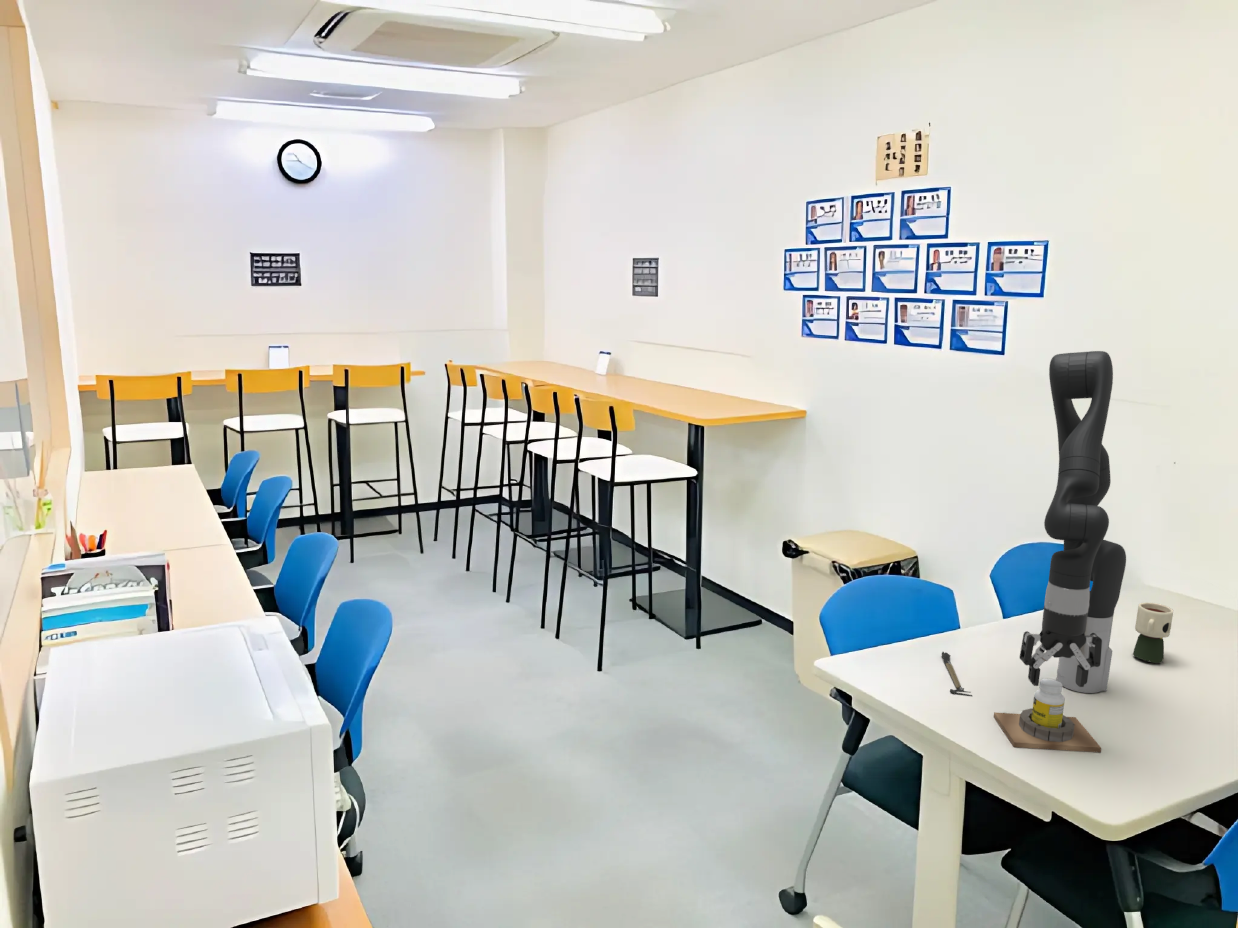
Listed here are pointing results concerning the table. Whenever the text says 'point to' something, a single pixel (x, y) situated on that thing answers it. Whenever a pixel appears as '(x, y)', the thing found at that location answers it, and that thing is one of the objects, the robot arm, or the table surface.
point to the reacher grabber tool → (953, 675)
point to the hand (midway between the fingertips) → (1056, 684)
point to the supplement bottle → (1048, 704)
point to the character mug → (1152, 631)
